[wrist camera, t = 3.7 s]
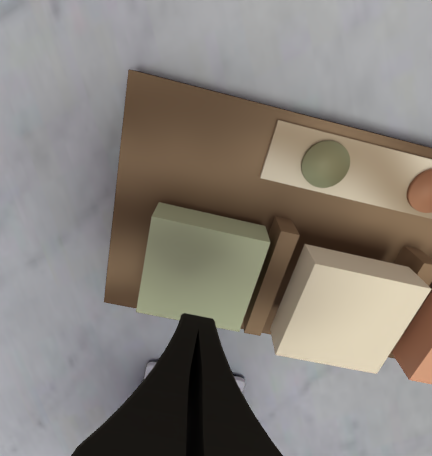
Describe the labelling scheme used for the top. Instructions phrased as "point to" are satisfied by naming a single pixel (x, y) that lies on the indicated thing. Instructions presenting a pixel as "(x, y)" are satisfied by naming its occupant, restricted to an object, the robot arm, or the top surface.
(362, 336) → the cream key
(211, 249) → the green key
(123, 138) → the keypad board
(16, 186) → the top surface
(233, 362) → the top surface
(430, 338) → the terracotta key
